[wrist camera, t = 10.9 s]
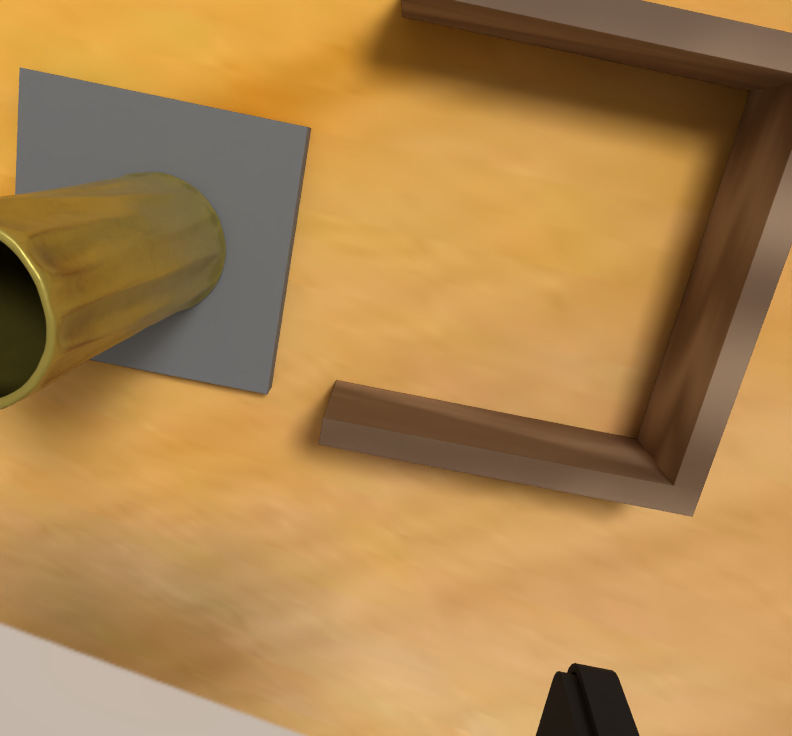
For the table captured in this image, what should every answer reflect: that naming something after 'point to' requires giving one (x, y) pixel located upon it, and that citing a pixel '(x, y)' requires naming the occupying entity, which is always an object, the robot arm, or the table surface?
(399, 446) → the open wooden frame
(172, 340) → the rubber mat
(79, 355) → the vase
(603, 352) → the table surface
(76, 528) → the table surface
